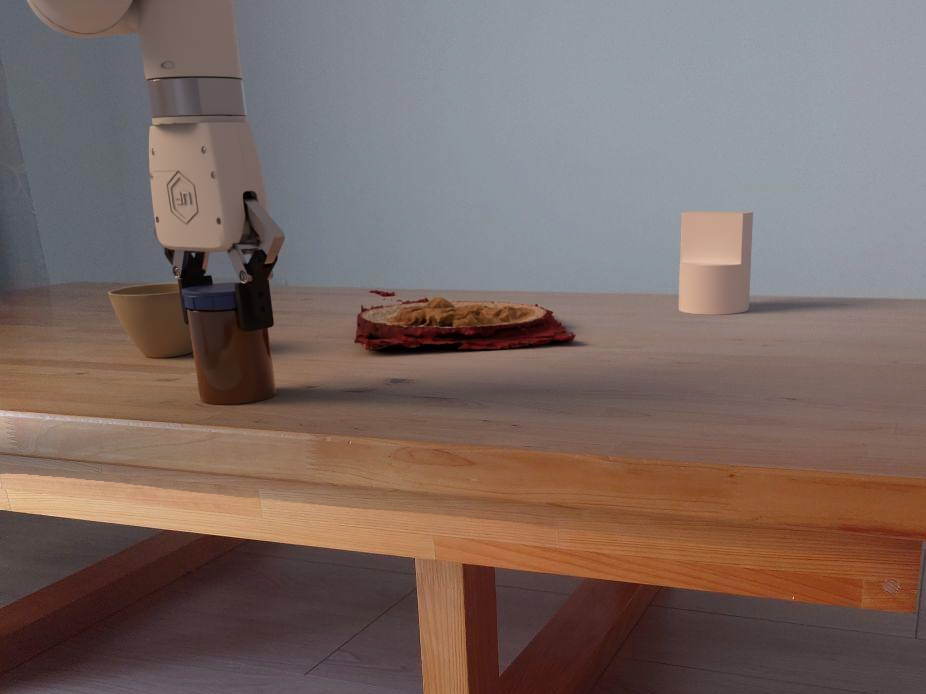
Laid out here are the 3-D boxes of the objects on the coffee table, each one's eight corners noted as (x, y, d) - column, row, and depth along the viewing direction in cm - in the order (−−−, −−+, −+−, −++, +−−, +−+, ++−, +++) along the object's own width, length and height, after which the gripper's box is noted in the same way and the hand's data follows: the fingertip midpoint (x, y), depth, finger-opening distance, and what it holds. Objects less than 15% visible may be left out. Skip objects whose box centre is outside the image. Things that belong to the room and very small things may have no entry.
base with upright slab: (666, 311, 130) (668, 214, 125) (697, 302, 137) (700, 209, 132) (730, 316, 125) (734, 215, 120) (760, 306, 132) (764, 210, 127)
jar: (219, 408, 86) (203, 299, 83) (188, 396, 91) (172, 292, 88) (289, 395, 90) (276, 291, 87) (255, 384, 95) (242, 285, 92)
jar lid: (207, 312, 83) (205, 294, 83) (170, 305, 88) (167, 288, 87) (281, 302, 88) (279, 285, 87) (242, 296, 92) (240, 280, 92)
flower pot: (152, 345, 117) (142, 282, 115) (231, 345, 115) (222, 281, 113) (100, 362, 108) (88, 294, 106) (185, 363, 106) (174, 293, 103)
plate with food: (355, 359, 107) (352, 326, 105) (362, 316, 130) (360, 289, 129) (576, 351, 109) (577, 319, 108) (544, 310, 133) (544, 284, 132)
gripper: (96, 110, 84) (133, 325, 91) (228, 99, 74) (259, 340, 81) (173, 111, 90) (203, 313, 96) (306, 101, 80) (329, 326, 86)
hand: (228, 324), depth 88 cm, fingers closed on jar lid, 7 cm apart
